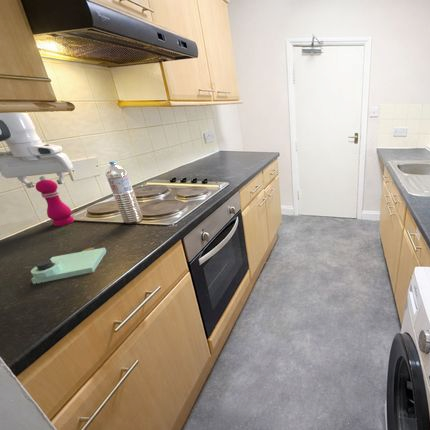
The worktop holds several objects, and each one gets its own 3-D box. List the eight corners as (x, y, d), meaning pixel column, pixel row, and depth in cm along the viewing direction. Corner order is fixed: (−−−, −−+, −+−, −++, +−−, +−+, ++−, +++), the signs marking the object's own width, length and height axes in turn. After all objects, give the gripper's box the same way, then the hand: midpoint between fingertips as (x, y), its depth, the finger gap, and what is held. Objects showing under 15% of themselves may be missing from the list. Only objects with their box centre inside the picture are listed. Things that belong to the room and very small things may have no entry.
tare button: (36, 272, 74) (33, 267, 73) (42, 266, 77) (39, 261, 76) (50, 269, 75) (47, 264, 74) (56, 263, 78) (53, 258, 77)
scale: (32, 285, 74) (25, 275, 72) (54, 261, 84) (49, 252, 83) (93, 273, 78) (88, 263, 77) (106, 251, 89) (102, 242, 87)
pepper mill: (51, 223, 110) (28, 176, 101) (74, 217, 114) (53, 172, 106) (53, 228, 105) (28, 180, 97) (77, 222, 110) (55, 176, 101)
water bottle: (122, 220, 110) (99, 161, 100) (141, 215, 114) (121, 158, 104) (125, 226, 106) (101, 164, 95) (145, 220, 110) (124, 161, 99)
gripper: (-16, 154, 91) (6, 192, 97) (58, 148, 97) (74, 184, 103) (-3, 151, 96) (17, 186, 102) (66, 145, 103) (81, 179, 109)
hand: (46, 185), depth 103 cm, fingers open, 8 cm apart
